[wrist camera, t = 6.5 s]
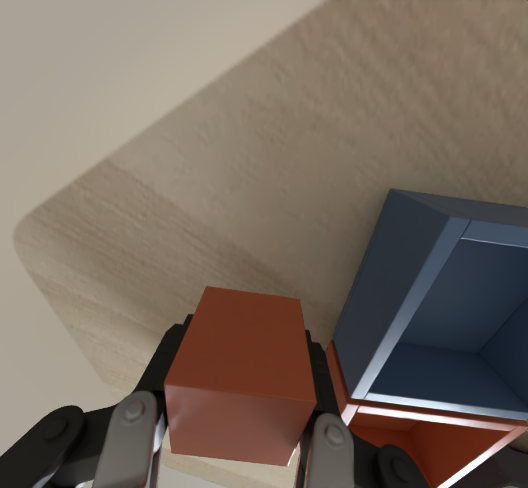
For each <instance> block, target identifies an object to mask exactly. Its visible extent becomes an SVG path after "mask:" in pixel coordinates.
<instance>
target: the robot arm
mask: <svg viewBox="0 0 528 488" xmlns="http://www.w3.org/2000/svg"><path fill="white" fill-rule="evenodd" d="M193 316H194V314H188V315H187V317H186V319H185V321H184V324H183V325H182V324H174V325H173V326H172V327H171V328H170V329H169V330H168V331H166V333H165V335H164V337H163V339H162V340H161V343H160V344H159V346H158V348H157V350H156V352H155V353H154V355H153V357H152V359H151V361H150V362H149V364H148V366H147V368H146V370H145V372H144V374H143V375H142V377H141V379H140V381H139V383H138V385H137V386H136V388H135V389H134V391H133V392H132V393H131V394H130V395H128V396H127V397H125V398H124V399H123V400H122V401H121V402H119V403H118V404H116V405H113V406H111V407H108V408H103V409H98V410H94V411H90V412H86V413H84V412H83V410H82V409H81V408H79V407H78V406H72V405H71V406H64V407H61V408H59V409H56V410H54V411H52V412H51V413H49V414H48V415H46V416H45V417H44V418H42V419H41V420H40V421H39V422H38V423H37V424H36V425H35V426H33V427H32V428H31V429H30V430H29V431H28V432H27V433H26V434H25V435H24V436H23V437H22V438H20V439H19V440H18V441H17V442H16V443H15V444H14V445H13V446H12V447H11V448H10V449H8V450H7V451H6V452H5V453H4V454H3V455H2V456H1V457H0V488H83V487H84V486H85V484H86V483H87V482H88V481H90V480H93V479H94V481H93V485H92V488H158V480H159V470H160V460H161V449H162V440H163V437H164V435H165V432H166V429H167V426H168V418H167V408H166V399H165V390H164V381H165V379H166V377H167V374H168V372H169V370H170V368H171V365H172V363H173V361H174V359H175V356H176V354H177V352H178V350H179V347H180V345H181V343H182V341H183V338H184V336H185V334H186V332H187V329H188V327H189V325H190V322H191V320H192V318H193ZM305 333H306V339H307V346H308V352H309V358H310V364H311V370H312V376H313V382H314V388H315V394H316V400H317V402H316V405H315V407H314V409H313V412H312V414H311V416H310V418H309V420H308V422H307V425H306V427H305V429H304V431H303V433H302V436H301V438H300V440H299V442H300V455H299V458H298V464H297V470H296V476H295V482H294V488H431V487H430V486H429V484H428V483H427V481H426V479H425V478H424V476H423V475H422V473H421V471H420V470H419V468H418V466H417V465H416V463H415V462H414V461H413V459H412V458H411V457H410V456H409V455H408V454H407V453H406V452H405V451H404V450H403V449H401V448H400V447H398V446H396V445H393V444H385V445H383V446H382V447H381V448H379V447H377V446H375V445H373V444H371V443H369V442H367V441H365V440H364V439H362V438H360V437H358V436H357V435H355V434H354V433H353V432H352V431H351V430H350V429H349V428H348V426H347V425H346V424H345V422H344V421H343V419H342V417H341V415H340V412H339V408H338V404H337V400H336V396H335V391H334V387H333V383H332V379H331V375H330V371H329V367H328V362H327V358H326V354H325V352H324V350H323V349H322V347H321V345H320V344H319V343H316V342H312V341H311V335H310V331H309V330H305Z"/></svg>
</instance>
